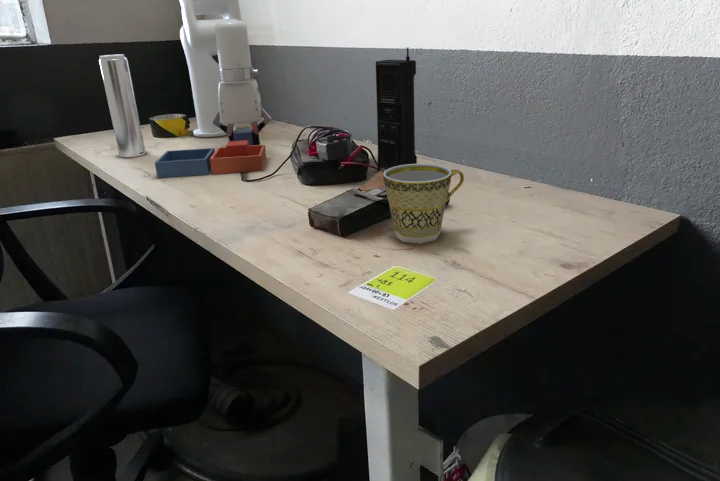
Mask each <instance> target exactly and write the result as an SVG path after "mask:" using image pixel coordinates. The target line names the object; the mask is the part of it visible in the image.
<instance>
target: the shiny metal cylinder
mask: <svg viewBox="0 0 720 481" xmlns="http://www.w3.org/2000/svg"><path fill="white" fill-rule="evenodd" d="M98 62H99V65H100V66H99V67H100V72H101V75H102V80H103V81H102V82H103V85H104V92H105V94H106V101H107V104H108V108H109V109H108V110H109V114H110V119H111V123H112V127H113V128H112V129H113V133H114V137H115V142H116V146H117V151H118V155H119V157H120V158H136V157H140V156H143V155H145V154H146V148H145V142H144V138H143V133H142V127H141V122H140V117H139V112H138V106H137V103H136V96H135V91H134V86H133V80H132V76H131V71H130V66H129V61H128V57H125V54H124V53H123V54H122V53H121V54H119V53H118V54H104V55H99V60H98Z"/></svg>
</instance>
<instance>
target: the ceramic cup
mask: <svg viewBox="0 0 720 481" xmlns="http://www.w3.org/2000/svg"><path fill="white" fill-rule="evenodd" d="M456 174H459V178H460V179H459V182H458V183H457V184H456V186H454V188H452V189H451V191H450V188H451V187H450V186H451V181H452V177H454V176H455V175H456ZM383 178H384V185H385V190H386V195H387V199H388V202H389V206H388V207H389V211H390V212H389V213H390V217H391V221H392V226H393V232H394V236H395V237H396V238H397V239H398V240H399V241H401V242H403V243H407V244H408V243H409V244H419V245H420V244H425V243H429V242H435V241H436V240H437V239H438V238H439V236H440V234H441V230H442V225H443V219H444V214H445V209H446V208H445V204H446V202H447V201H448V200H449V199H450V200H451V197H452V196H453V195H454V193H455V192H456V191H458V190H459V189H460V188H461V186H462V185H463V184H464V180H465V177H464V174H463V172H462V171H461V170H459V169H449V168H448V167H446V166H443V165H439V164H432V163H417V164H406V165H400V166H395V167H392V168H389V169H387V170H386V171H385V172H384V173H383ZM448 192H449V194H448Z"/></svg>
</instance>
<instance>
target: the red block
mask: <svg viewBox="0 0 720 481" xmlns="http://www.w3.org/2000/svg"><path fill="white" fill-rule="evenodd" d="M225 147H226V150H227V157H239V156H250V148H249V140H244V141H229V140H228V141H227V143H226V145H225Z"/></svg>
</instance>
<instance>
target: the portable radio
mask: <svg viewBox="0 0 720 481" xmlns="http://www.w3.org/2000/svg"><path fill="white" fill-rule="evenodd" d="M409 49H410V48H409V47H406V56H405V59H383V60H376V61H375V87H376V89H375V91H376V92H375V93H376V120H377V121H376V122H377V124H376V126H377V128H376V129H377V171H378V172H379V171H380V168H383V169H385V170H387V169H389V168H392V167H395V166H400V165H406V164H418V156H417V154H416V145H415V144H416V139H415V138H416V137H415V136H416V135H415V133H416V131H415V76H416V74H417V61H416V60H415V59H411V56H409V55H410V52H409Z"/></svg>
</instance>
